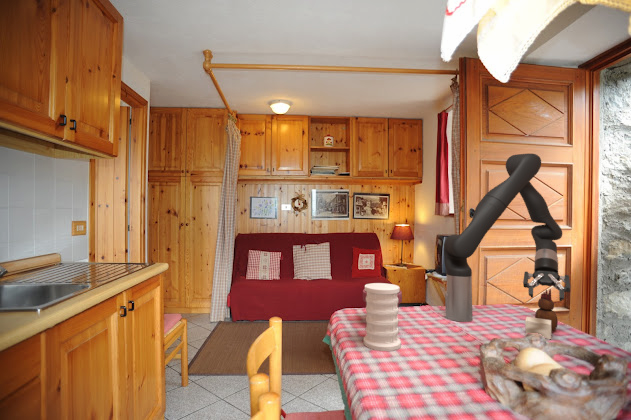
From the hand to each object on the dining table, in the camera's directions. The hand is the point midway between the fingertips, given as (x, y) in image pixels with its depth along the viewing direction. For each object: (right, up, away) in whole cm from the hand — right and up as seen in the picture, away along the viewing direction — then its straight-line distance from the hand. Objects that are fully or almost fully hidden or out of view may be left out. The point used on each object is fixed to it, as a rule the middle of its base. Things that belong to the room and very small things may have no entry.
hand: (546, 298), depth 117 cm
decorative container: (-63, -10, -15) cm, 65 cm away
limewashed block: (-8, -11, -7) cm, 15 cm away
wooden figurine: (-2, -11, -3) cm, 11 cm away
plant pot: (-59, -11, +3) cm, 60 cm away
